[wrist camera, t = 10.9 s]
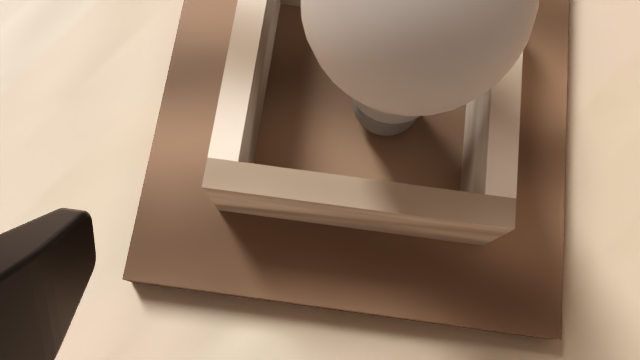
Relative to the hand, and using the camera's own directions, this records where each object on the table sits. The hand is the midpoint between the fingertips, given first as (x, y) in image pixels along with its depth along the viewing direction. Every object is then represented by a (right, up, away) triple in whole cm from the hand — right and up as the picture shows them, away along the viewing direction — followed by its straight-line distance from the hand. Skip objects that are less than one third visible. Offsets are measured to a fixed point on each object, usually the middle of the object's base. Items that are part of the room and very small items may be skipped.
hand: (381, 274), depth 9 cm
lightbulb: (+2, +4, +14) cm, 15 cm away
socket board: (+1, +4, +15) cm, 16 cm away
